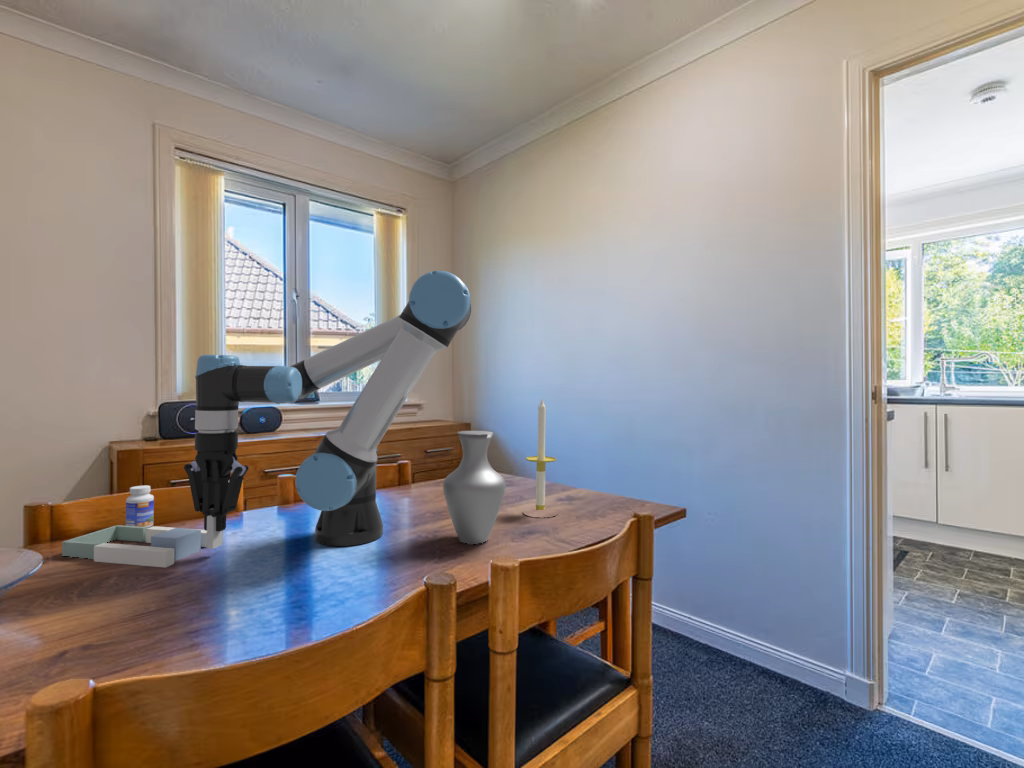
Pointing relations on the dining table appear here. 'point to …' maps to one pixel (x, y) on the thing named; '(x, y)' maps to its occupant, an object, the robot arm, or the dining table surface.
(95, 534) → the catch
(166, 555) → the chute
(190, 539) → the block
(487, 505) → the vase
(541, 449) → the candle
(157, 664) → the dining table surface
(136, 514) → the pill bottle
